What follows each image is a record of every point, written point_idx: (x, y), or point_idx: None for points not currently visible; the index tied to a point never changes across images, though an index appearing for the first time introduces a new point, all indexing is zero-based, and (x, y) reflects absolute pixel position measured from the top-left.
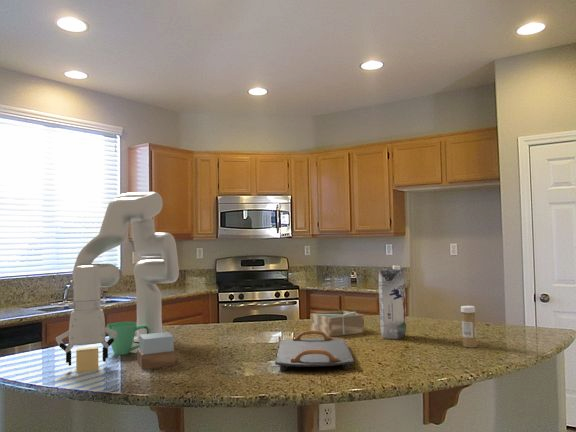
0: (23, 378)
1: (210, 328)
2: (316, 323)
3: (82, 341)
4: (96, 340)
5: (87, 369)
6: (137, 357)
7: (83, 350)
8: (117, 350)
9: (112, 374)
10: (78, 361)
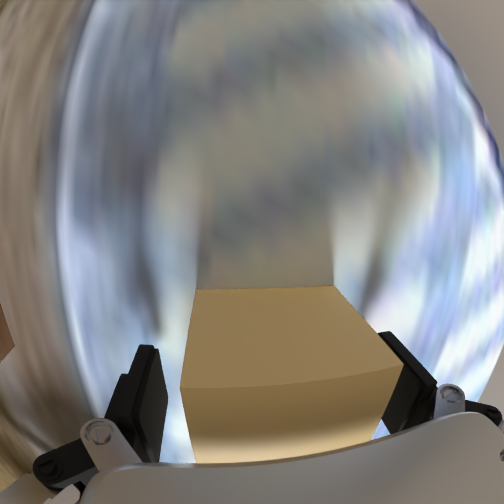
0: (498, 283)
1: None
2: None
3: (402, 464)
4: (200, 494)
5: (270, 294)
6: (2, 357)
7: (333, 416)
8: None
9: (113, 101)
10: (352, 321)
